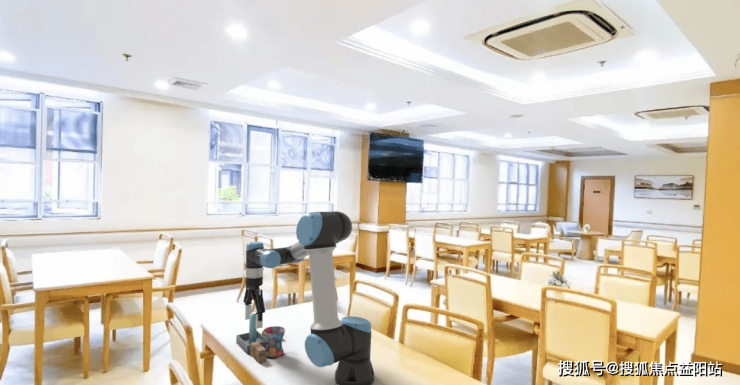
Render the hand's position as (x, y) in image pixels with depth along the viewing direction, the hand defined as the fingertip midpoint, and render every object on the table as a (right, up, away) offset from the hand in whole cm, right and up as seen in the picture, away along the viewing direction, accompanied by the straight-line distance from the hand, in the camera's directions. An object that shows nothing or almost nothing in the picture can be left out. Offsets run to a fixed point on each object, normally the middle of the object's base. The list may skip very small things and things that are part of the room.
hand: (253, 323), depth 173 cm
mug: (+12, -11, -6) cm, 17 cm away
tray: (-1, -10, 0) cm, 10 cm away
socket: (+6, -10, +9) cm, 15 cm away
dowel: (-1, -9, +1) cm, 9 cm away
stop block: (+5, -11, -11) cm, 16 cm away
